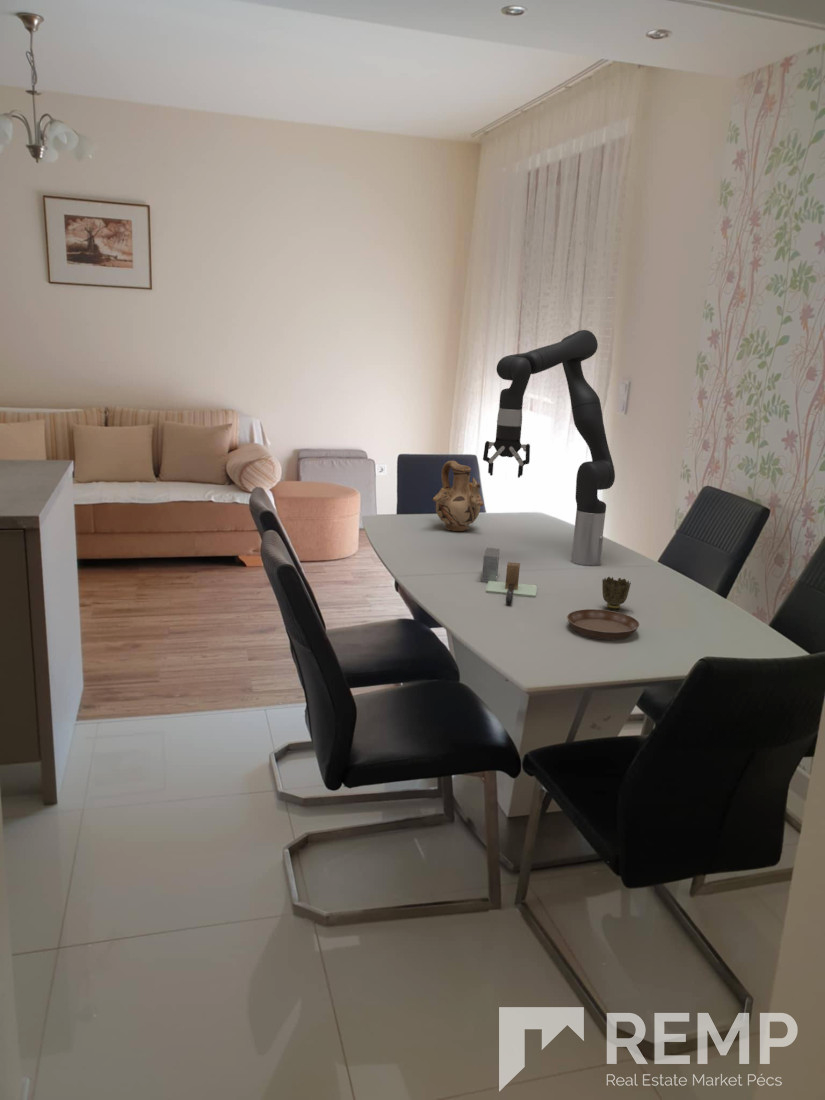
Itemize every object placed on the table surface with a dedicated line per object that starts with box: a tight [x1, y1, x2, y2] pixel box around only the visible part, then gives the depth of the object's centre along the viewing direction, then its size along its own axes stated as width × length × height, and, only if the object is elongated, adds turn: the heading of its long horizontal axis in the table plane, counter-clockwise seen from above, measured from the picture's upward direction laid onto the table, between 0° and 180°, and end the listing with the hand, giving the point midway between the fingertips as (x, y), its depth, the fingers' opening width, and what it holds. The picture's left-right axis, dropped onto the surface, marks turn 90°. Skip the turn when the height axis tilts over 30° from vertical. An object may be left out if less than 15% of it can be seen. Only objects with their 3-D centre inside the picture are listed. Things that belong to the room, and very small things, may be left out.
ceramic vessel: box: [432, 460, 484, 532], centre depth 308 cm, size 18×19×25 cm
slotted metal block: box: [481, 547, 501, 584], centre depth 249 cm, size 4×10×8 cm, turn 170°
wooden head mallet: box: [505, 561, 521, 605], centre depth 232 cm, size 17×4×7 cm, turn 171°
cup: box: [601, 576, 631, 611], centre depth 226 cm, size 8×7×8 cm
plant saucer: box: [566, 608, 640, 641], centre depth 209 cm, size 18×18×3 cm
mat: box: [485, 580, 538, 598], centre depth 239 cm, size 14×10×1 cm
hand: (504, 476), depth 259 cm, fingers open, 8 cm apart
